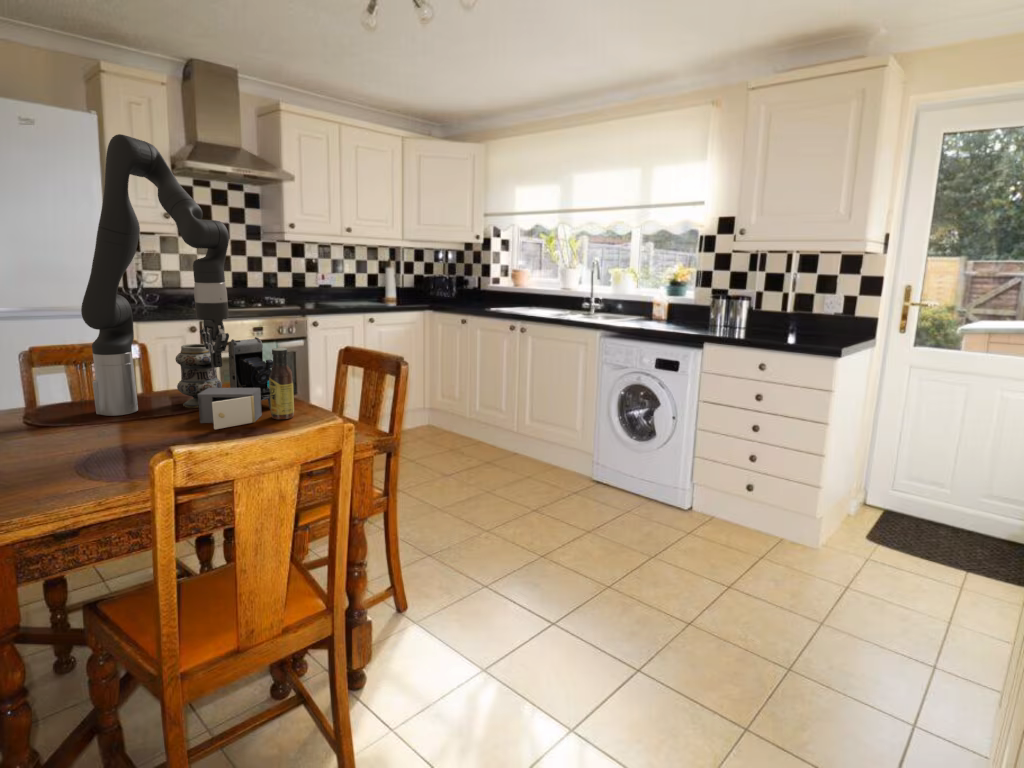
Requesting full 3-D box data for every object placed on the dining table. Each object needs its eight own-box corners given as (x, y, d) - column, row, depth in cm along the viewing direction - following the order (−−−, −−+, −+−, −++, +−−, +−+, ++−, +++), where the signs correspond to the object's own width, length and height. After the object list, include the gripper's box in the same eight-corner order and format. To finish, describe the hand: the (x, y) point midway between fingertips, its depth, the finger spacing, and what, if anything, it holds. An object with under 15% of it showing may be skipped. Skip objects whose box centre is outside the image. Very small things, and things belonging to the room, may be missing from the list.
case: (200, 423, 165) (197, 394, 163) (210, 415, 173) (208, 387, 171) (254, 422, 167) (252, 394, 165) (261, 414, 175) (260, 387, 173)
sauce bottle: (270, 415, 174) (266, 347, 170) (293, 413, 177) (290, 346, 172) (271, 421, 168) (267, 350, 164) (295, 419, 171) (292, 349, 166)
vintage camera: (257, 413, 177) (255, 346, 173) (229, 402, 186) (227, 338, 182) (286, 408, 185) (285, 343, 180) (258, 398, 194) (257, 336, 189)
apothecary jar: (230, 399, 191) (225, 342, 187) (212, 409, 179) (208, 348, 175) (190, 398, 190) (185, 341, 186) (170, 408, 178) (165, 348, 174)
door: (216, 430, 158) (214, 403, 156) (213, 428, 159) (211, 402, 157) (257, 422, 165) (255, 397, 164) (254, 421, 167) (252, 395, 165)
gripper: (237, 301, 154) (242, 368, 158) (215, 297, 162) (221, 361, 166) (206, 302, 148) (212, 372, 152) (185, 299, 157) (192, 365, 161)
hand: (216, 366), depth 159 cm, fingers closed
